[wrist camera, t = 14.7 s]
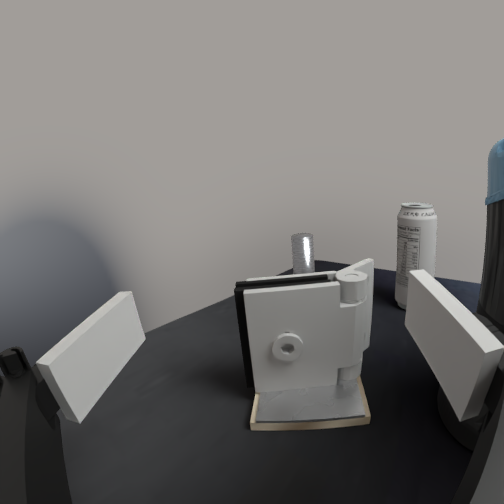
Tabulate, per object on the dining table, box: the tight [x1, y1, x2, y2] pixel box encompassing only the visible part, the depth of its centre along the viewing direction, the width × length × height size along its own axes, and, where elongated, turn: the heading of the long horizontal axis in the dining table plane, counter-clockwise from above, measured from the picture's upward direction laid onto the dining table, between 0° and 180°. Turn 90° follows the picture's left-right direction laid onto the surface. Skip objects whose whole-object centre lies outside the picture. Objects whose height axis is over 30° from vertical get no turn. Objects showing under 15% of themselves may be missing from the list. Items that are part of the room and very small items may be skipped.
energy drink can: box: [395, 203, 437, 310], centre depth 39 cm, size 6×6×15 cm
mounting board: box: [250, 375, 371, 431], centre depth 30 cm, size 10×18×1 cm, turn 173°
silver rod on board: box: [256, 233, 366, 423], centre depth 28 cm, size 9×17×12 cm, turn 173°
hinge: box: [234, 258, 374, 392], centre depth 26 cm, size 14×5×10 cm, turn 101°
